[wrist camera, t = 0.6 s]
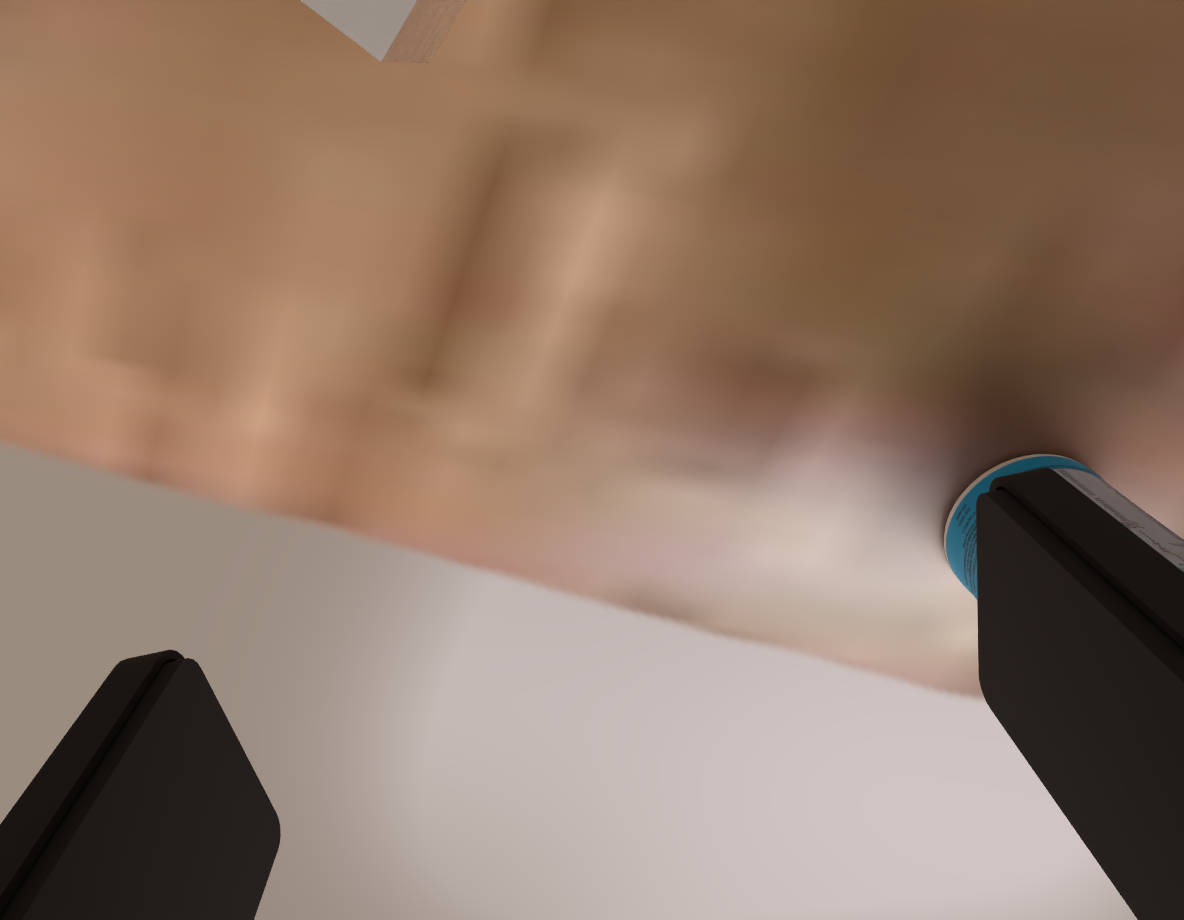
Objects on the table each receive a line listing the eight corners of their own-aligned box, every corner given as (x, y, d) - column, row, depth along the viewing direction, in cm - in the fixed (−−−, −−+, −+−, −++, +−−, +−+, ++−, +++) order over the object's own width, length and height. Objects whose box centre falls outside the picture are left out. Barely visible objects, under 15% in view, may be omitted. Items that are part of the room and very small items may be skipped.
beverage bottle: (1037, 413, 40) (1444, 701, 22) (1135, 512, 42) (1571, 842, 24) (902, 532, 42) (1165, 879, 24) (1003, 618, 45) (1308, 991, 27)
